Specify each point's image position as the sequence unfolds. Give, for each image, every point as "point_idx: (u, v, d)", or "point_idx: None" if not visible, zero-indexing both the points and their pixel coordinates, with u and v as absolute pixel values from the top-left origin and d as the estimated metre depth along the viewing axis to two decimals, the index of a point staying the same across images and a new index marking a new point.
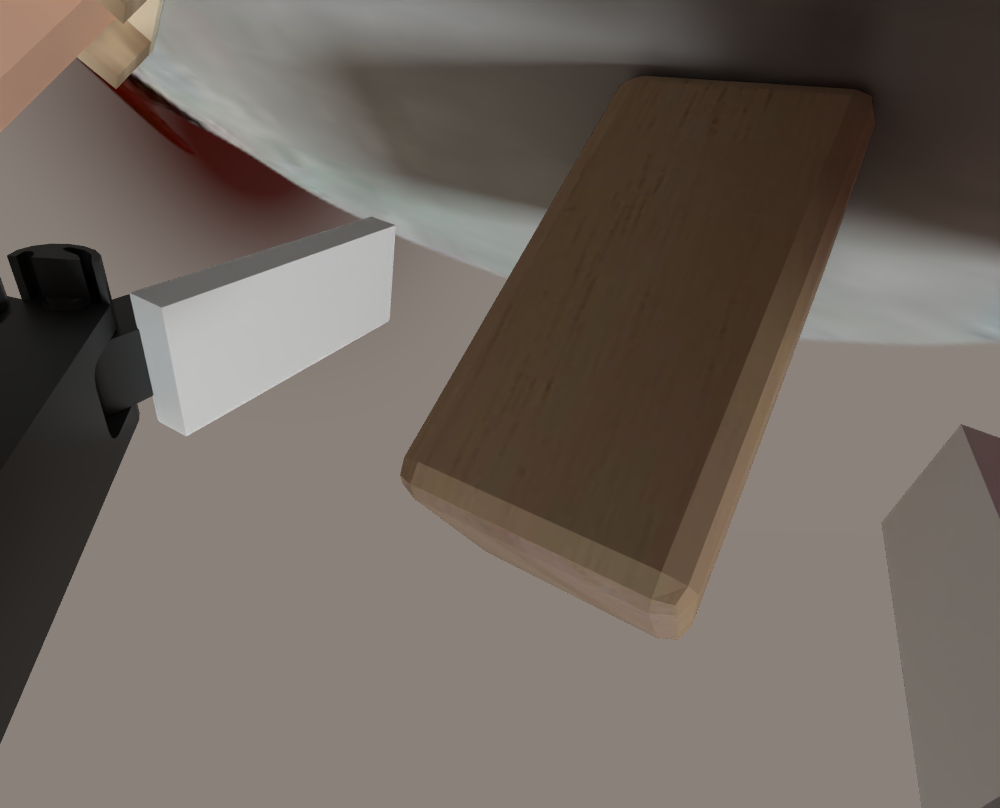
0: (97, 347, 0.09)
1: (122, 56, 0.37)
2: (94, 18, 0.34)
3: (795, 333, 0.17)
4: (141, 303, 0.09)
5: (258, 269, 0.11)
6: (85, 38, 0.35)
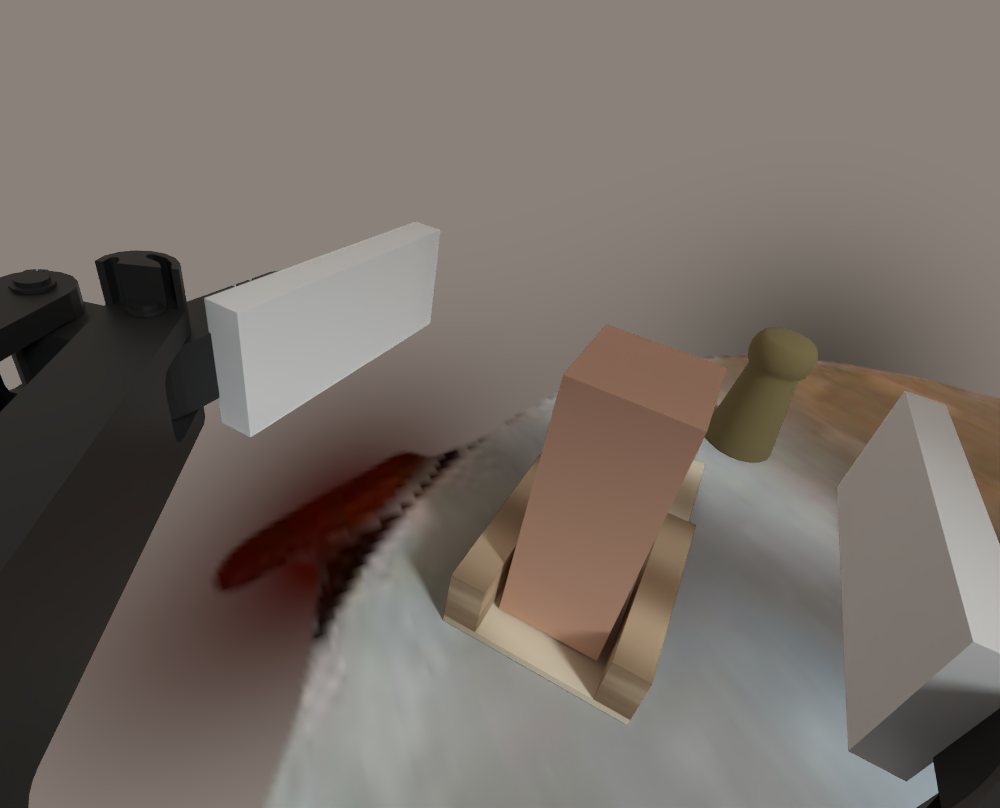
0: (170, 353, 0.09)
1: (485, 601, 0.30)
2: (551, 603, 0.30)
3: None
4: (215, 308, 0.10)
5: (319, 274, 0.11)
6: (530, 581, 0.30)
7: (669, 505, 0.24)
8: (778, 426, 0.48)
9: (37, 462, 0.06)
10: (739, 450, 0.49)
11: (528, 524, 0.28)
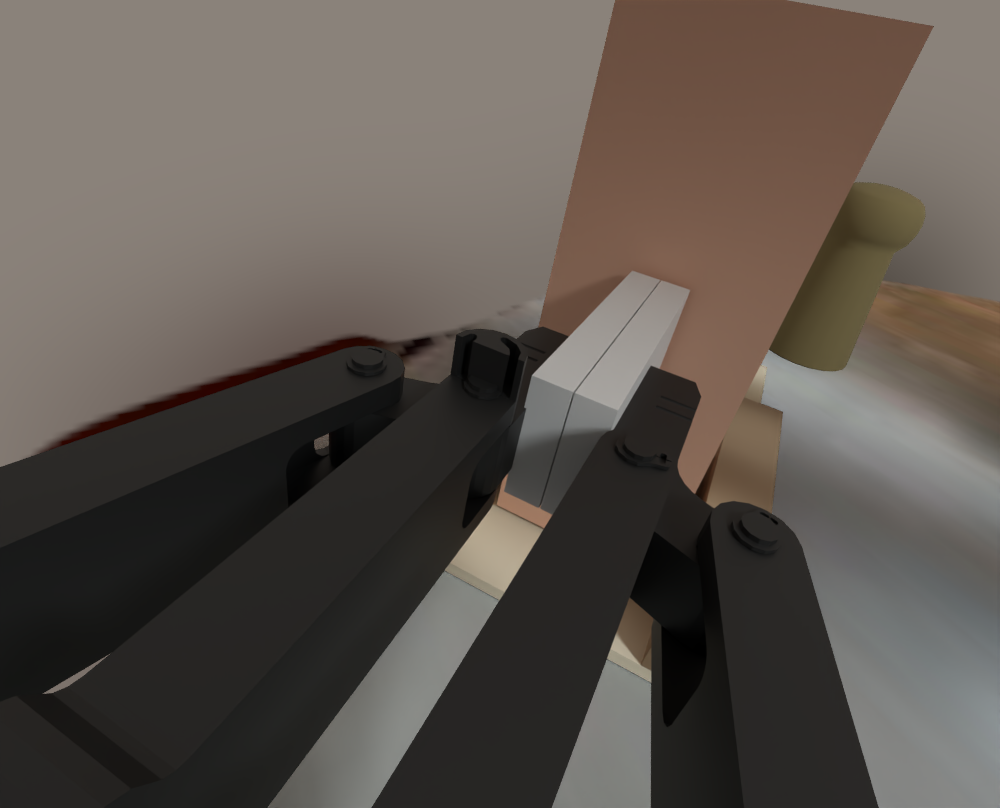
0: (487, 444, 0.08)
1: None
2: None
3: None
4: (544, 386, 0.09)
5: (604, 340, 0.11)
6: None
7: (819, 241, 0.12)
8: (862, 320, 0.36)
9: (337, 546, 0.06)
10: (809, 354, 0.37)
11: None
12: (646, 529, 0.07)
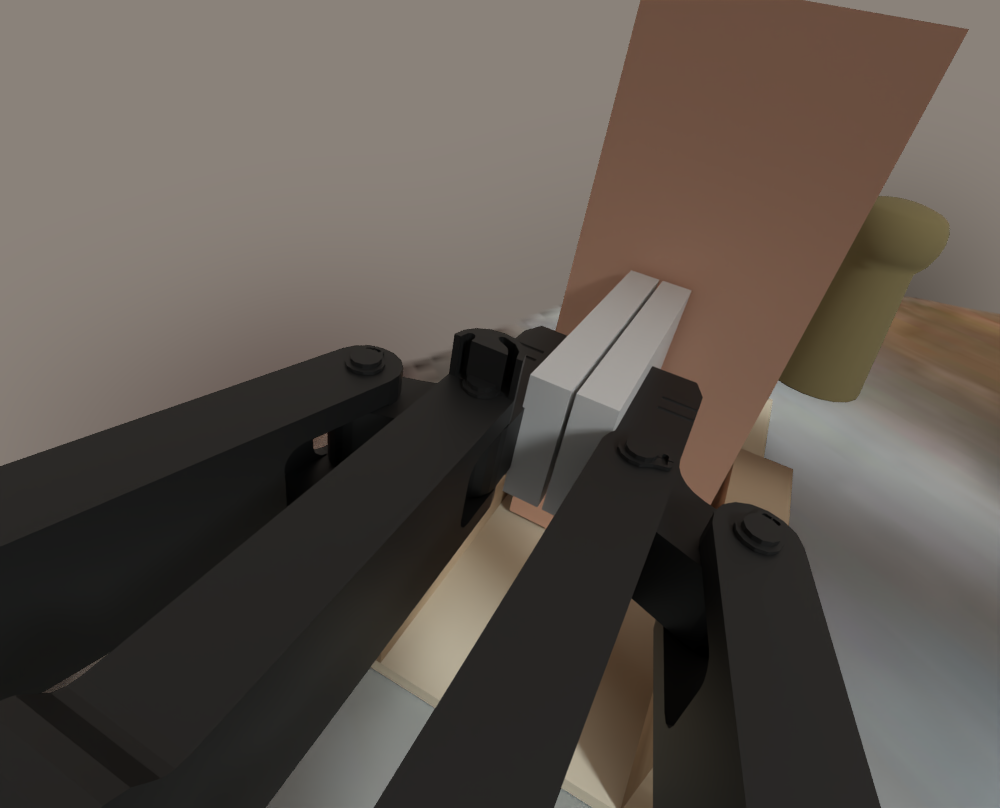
0: (486, 443, 0.08)
1: None
2: None
3: None
4: (542, 385, 0.09)
5: (603, 340, 0.11)
6: None
7: (846, 247, 0.12)
8: (878, 347, 0.33)
9: (336, 545, 0.06)
10: (819, 383, 0.33)
11: None
12: (648, 530, 0.07)
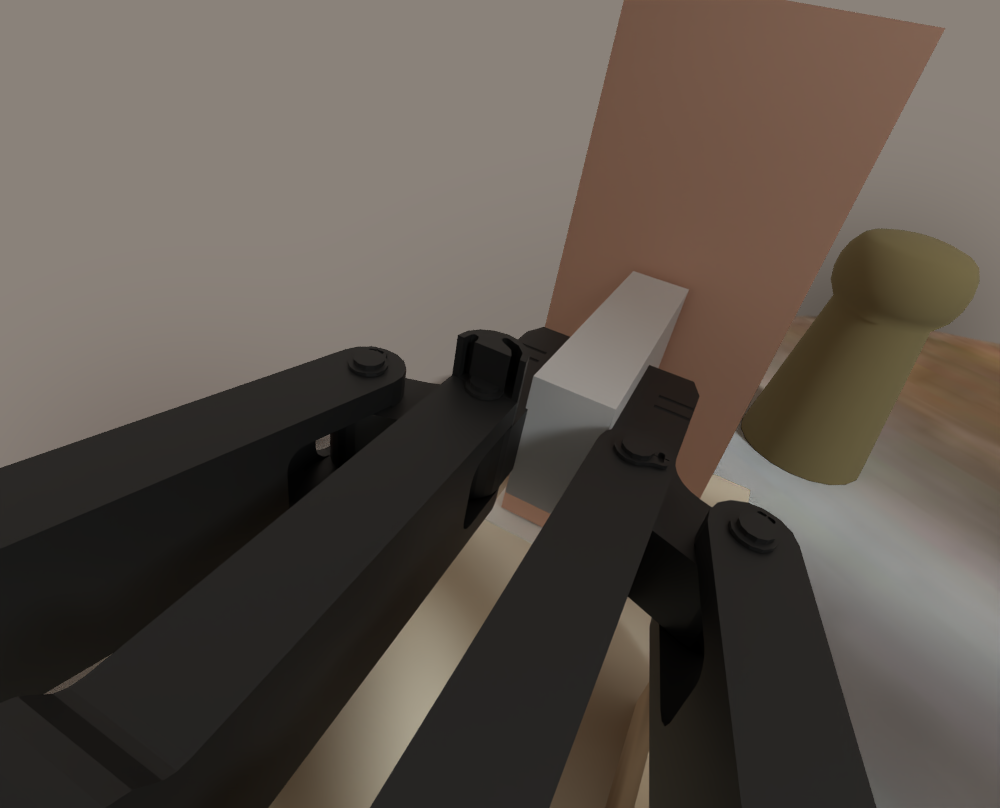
0: (489, 444, 0.08)
1: None
2: None
3: None
4: (546, 386, 0.09)
5: (606, 341, 0.11)
6: None
7: (828, 243, 0.12)
8: (885, 418, 0.26)
9: (339, 547, 0.06)
10: (810, 462, 0.26)
11: None
12: (644, 528, 0.07)
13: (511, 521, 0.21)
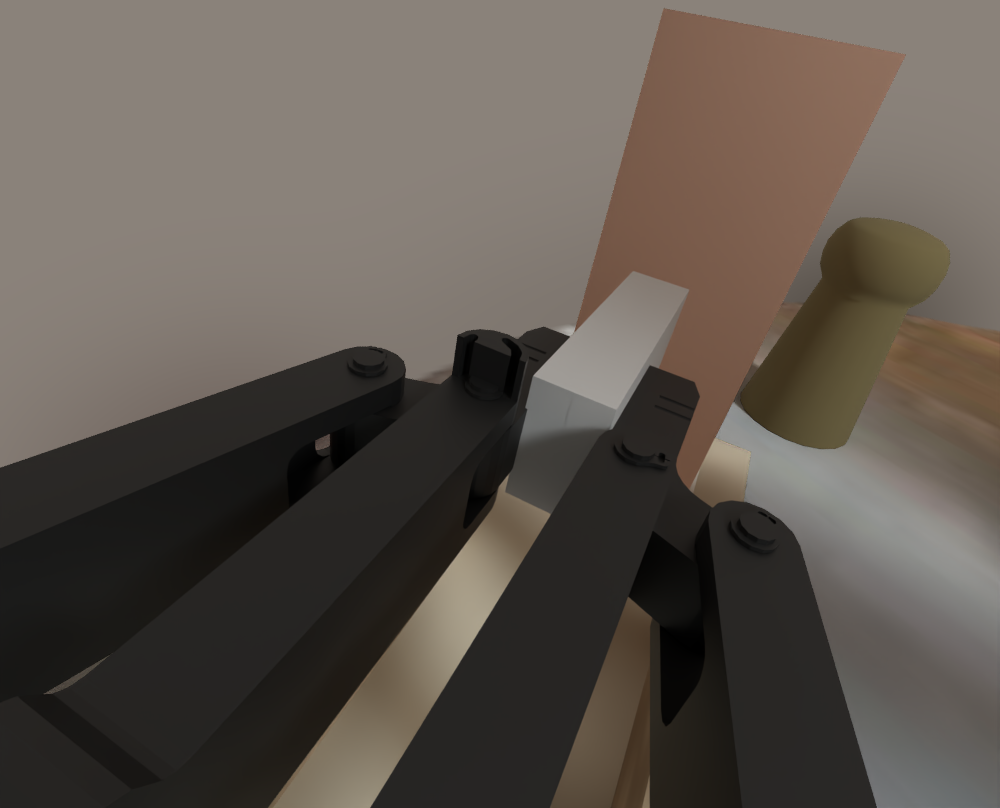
0: (488, 444, 0.08)
1: None
2: None
3: None
4: (546, 386, 0.09)
5: (605, 341, 0.11)
6: None
7: (819, 221, 0.16)
8: (869, 387, 0.29)
9: (338, 546, 0.06)
10: (803, 429, 0.29)
11: (589, 308, 0.20)
12: (645, 528, 0.07)
13: None
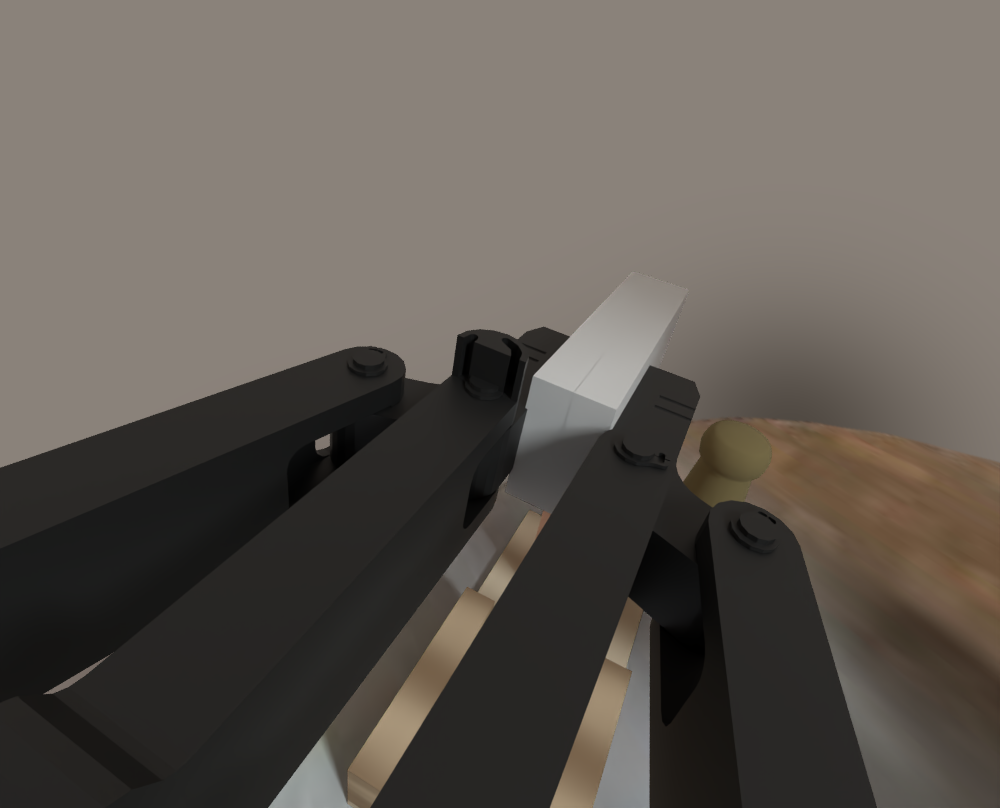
0: (489, 444, 0.08)
1: None
2: None
3: None
4: (546, 386, 0.09)
5: (605, 341, 0.11)
6: None
7: None
8: None
9: (339, 546, 0.06)
10: None
11: (546, 515, 0.37)
12: (645, 528, 0.07)
13: None
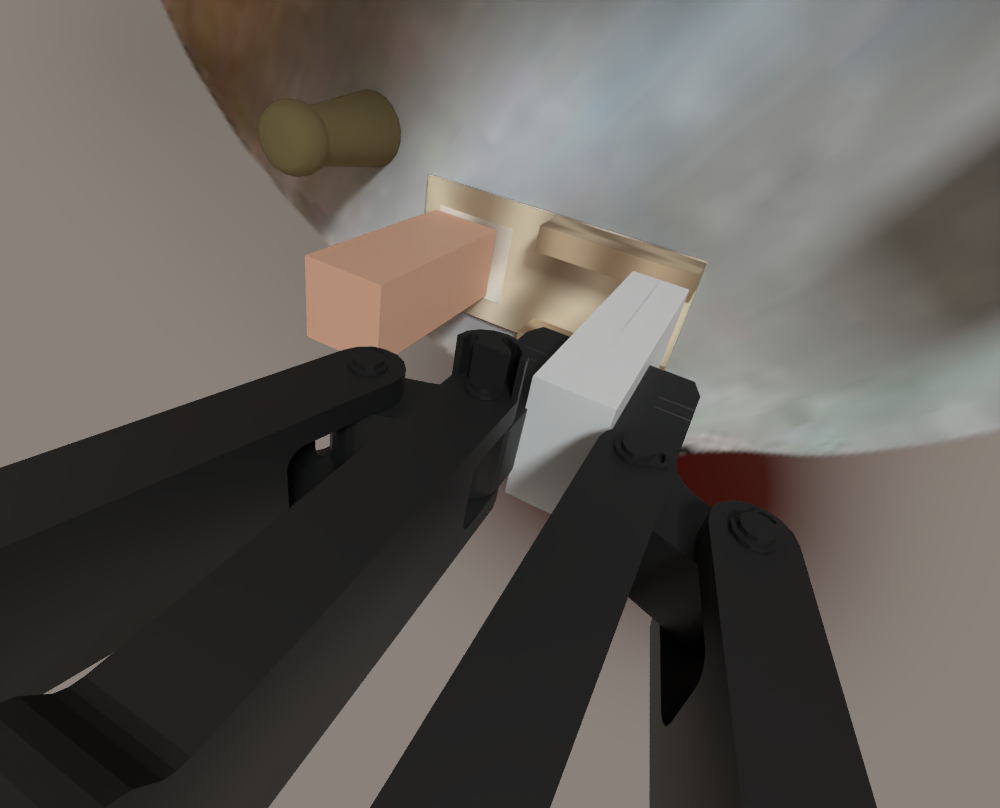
0: (488, 444, 0.08)
1: None
2: (476, 275, 0.47)
3: None
4: (546, 386, 0.09)
5: (605, 341, 0.11)
6: (469, 293, 0.47)
7: (417, 268, 0.38)
8: (357, 105, 0.44)
9: (338, 546, 0.06)
10: (393, 135, 0.47)
11: (444, 319, 0.45)
12: (645, 528, 0.07)
13: (496, 292, 0.50)
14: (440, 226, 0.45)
